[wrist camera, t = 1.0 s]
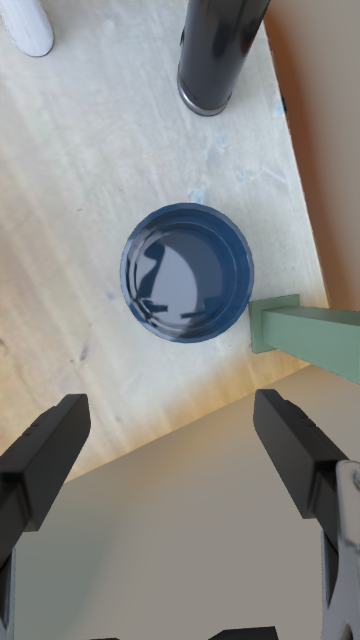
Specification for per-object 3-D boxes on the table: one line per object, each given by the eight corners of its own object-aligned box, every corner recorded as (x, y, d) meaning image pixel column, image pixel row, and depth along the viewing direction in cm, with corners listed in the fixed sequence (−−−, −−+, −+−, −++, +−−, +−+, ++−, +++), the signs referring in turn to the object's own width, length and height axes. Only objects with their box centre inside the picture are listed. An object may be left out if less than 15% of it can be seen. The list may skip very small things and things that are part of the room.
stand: (250, 352, 41) (589, 550, 9) (246, 302, 39) (650, 343, 8) (298, 342, 42) (719, 480, 11) (297, 294, 41) (795, 299, 9)
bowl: (189, 193, 34) (198, 171, 28) (255, 285, 39) (277, 283, 32) (99, 272, 33) (87, 268, 27) (178, 356, 38) (184, 368, 32)
